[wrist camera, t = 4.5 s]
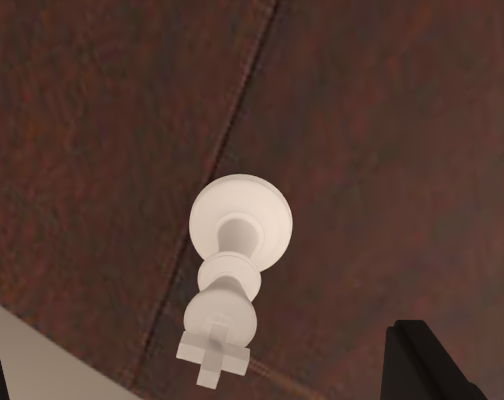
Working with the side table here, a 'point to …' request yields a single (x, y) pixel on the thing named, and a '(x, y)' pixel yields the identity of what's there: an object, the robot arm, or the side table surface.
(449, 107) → the side table surface
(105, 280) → the side table surface
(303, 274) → the side table surface
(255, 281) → the chess piece
